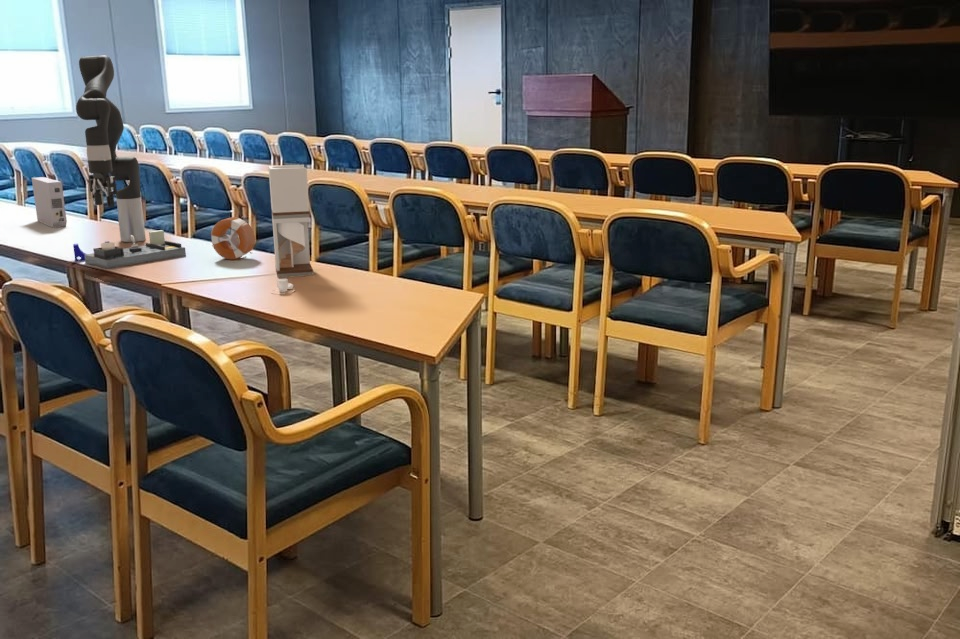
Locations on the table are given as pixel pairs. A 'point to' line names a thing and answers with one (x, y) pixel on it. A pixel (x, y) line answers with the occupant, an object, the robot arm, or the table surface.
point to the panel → (134, 255)
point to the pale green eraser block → (157, 237)
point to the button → (107, 246)
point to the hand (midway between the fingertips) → (104, 205)
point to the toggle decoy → (133, 242)
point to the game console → (49, 201)
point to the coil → (232, 238)
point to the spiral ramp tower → (290, 219)
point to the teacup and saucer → (284, 285)
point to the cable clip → (79, 253)
